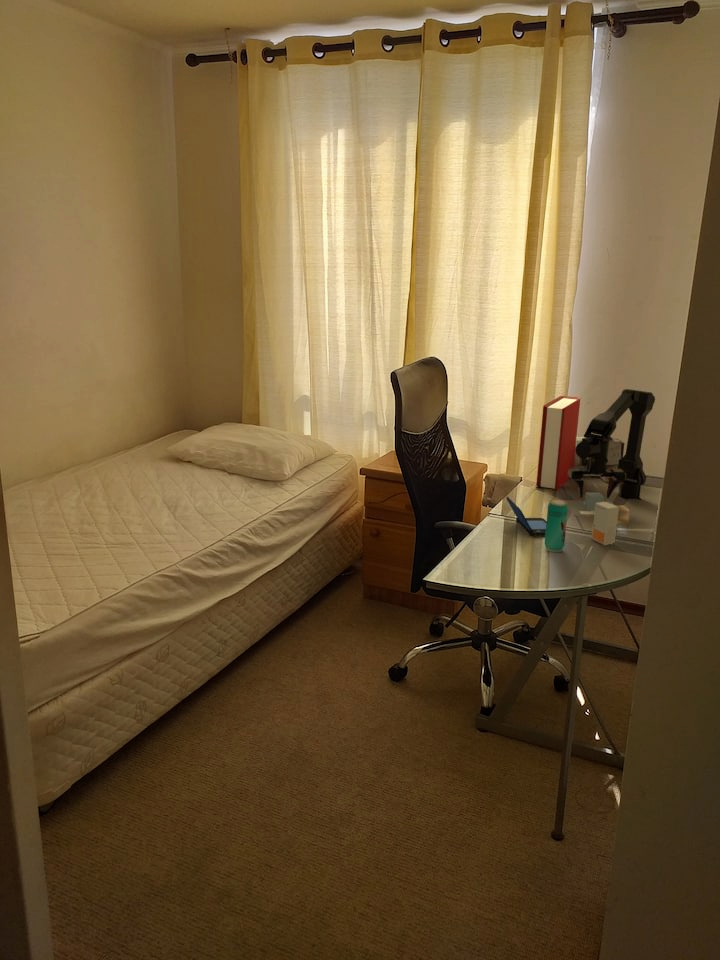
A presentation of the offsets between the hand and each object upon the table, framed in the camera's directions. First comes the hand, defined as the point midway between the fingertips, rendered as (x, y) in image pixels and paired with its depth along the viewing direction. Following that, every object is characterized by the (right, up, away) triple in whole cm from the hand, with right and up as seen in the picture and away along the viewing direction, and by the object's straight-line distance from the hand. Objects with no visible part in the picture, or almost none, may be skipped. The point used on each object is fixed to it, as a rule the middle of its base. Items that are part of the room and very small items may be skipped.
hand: (594, 497), depth 259 cm
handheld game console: (-27, -10, -19) cm, 34 cm away
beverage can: (-24, -15, -37) cm, 46 cm away
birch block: (+4, -8, -12) cm, 15 cm away
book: (-4, +6, +37) cm, 38 cm away
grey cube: (0, -4, +1) cm, 4 cm away
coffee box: (+19, +6, +41) cm, 45 cm away
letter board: (0, -4, +1) cm, 5 cm away
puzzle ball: (+8, +10, +52) cm, 54 cm away
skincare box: (-7, -13, -29) cm, 33 cm away
